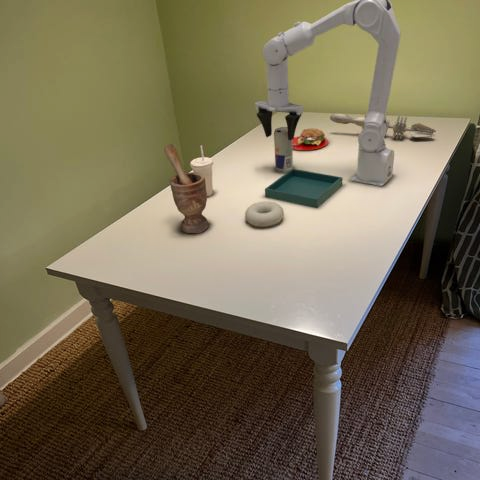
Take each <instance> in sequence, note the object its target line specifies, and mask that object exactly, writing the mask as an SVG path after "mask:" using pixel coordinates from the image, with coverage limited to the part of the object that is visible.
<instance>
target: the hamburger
mask: <svg viewBox="0 0 480 480" xmlns="http://www.w3.org/2000/svg"><path fill="white" fill-rule="evenodd" d="M328 143H329V140H328V139H327V137H326V135H325V133H324V131H323V130H321V129H319V128H312V127H311V128H306V129H303V130H302V132H301V133H299V135H298V136H294V138H293V139H292V148H293V150H298V151H312V150H318V149H321V148H324V147H326V146H327V145H328Z"/></svg>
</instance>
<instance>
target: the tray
mask: <svg viewBox="0 0 480 480" xmlns="http://www.w3.org/2000/svg"><path fill="white" fill-rule="evenodd" d="M343 179H344V178H343V177H342V176H339V175H338V176H337V175H331V174H326V173H320V172H315V171H310V170H309V171H308V170H304V169H297V168H293V169H291V170H290V171H288V172H285V173H283V175H282V176H280V177H279V178H277V179H276V180H274V182H272V183H271V184H270V185H268V186H267V187H265V188H264V197H265V198H270V199H273V200H278V201H283V202H288V203H292V204H297V205H302V206H305V207H306V206H307V207H311V208H315V209H318V208H319V207H320V206H321V205H322V204H323V203H325V201H327V200H328V199H329V198H331V196H332V195H334V193H336V192H337V191H338V190H340V188H341V187H342V186H343V181H344V180H343Z"/></svg>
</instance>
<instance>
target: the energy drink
mask: <svg viewBox="0 0 480 480" xmlns="http://www.w3.org/2000/svg"><path fill="white" fill-rule="evenodd" d="M273 143H274V144H273V145H274V146H273V147H274V164H275V165H274V166H275V171H276V172H277V173H281V174H286V173H287V172H288V171H290V170H291V169H294V156H293V155H294V154H293V153H294V151H293V150H294V149H293V148H292V140H288V128H287V126H281V127H277V128H274V132H273Z"/></svg>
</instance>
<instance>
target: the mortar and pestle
mask: <svg viewBox="0 0 480 480" xmlns="http://www.w3.org/2000/svg"><path fill="white" fill-rule="evenodd" d="M163 149H164V154H165V156H166V157H167V160H168V161H169V163H170V164H171V167H172V168H173V169H174V171H175V173H176V175H174V176H173V177H171V178H170V180H169V186H170V191H171V193H172V198H173V202H174V204H175V206H176V209H177V211H178V212H179V213H180V214H182V216H184V218H183V219H182V220H181V222H180V230H181V231H182V232H183V233H186V234H202V233H203V232H204V231H206V230H207V229H208V228H209V227H210V222H209V220H208V218H207V217H206V216H204V215H203V212H204V210H206V207H207V202H208V196H207V192H206V184H205V177H204V175H203V174H201V173H195V172H193V171H190V172H186V171H185V169H184V167H183V164H182V161H181V159H180V155H179V153H178V150H177V148H176V147H175V145H174V144H173V143H169V144H168V145H166V146H164V148H163Z"/></svg>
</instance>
